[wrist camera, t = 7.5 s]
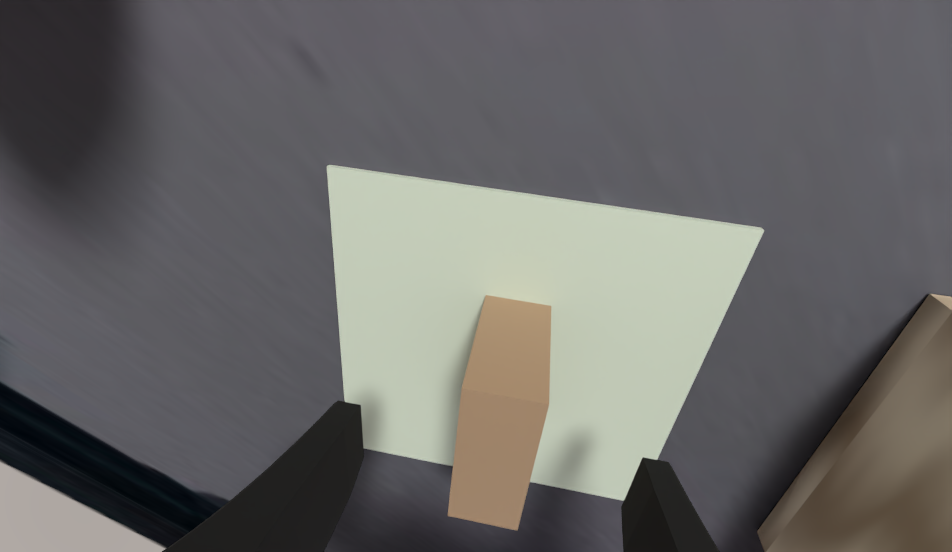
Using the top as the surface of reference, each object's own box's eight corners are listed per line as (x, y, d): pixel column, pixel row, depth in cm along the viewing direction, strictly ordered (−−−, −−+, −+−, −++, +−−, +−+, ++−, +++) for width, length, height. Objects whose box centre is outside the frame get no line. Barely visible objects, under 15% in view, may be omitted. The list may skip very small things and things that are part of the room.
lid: (633, 484, 18) (655, 623, 14) (355, 429, 19) (299, 543, 15) (752, 218, 12) (853, 322, 8) (339, 158, 13) (238, 223, 9)
